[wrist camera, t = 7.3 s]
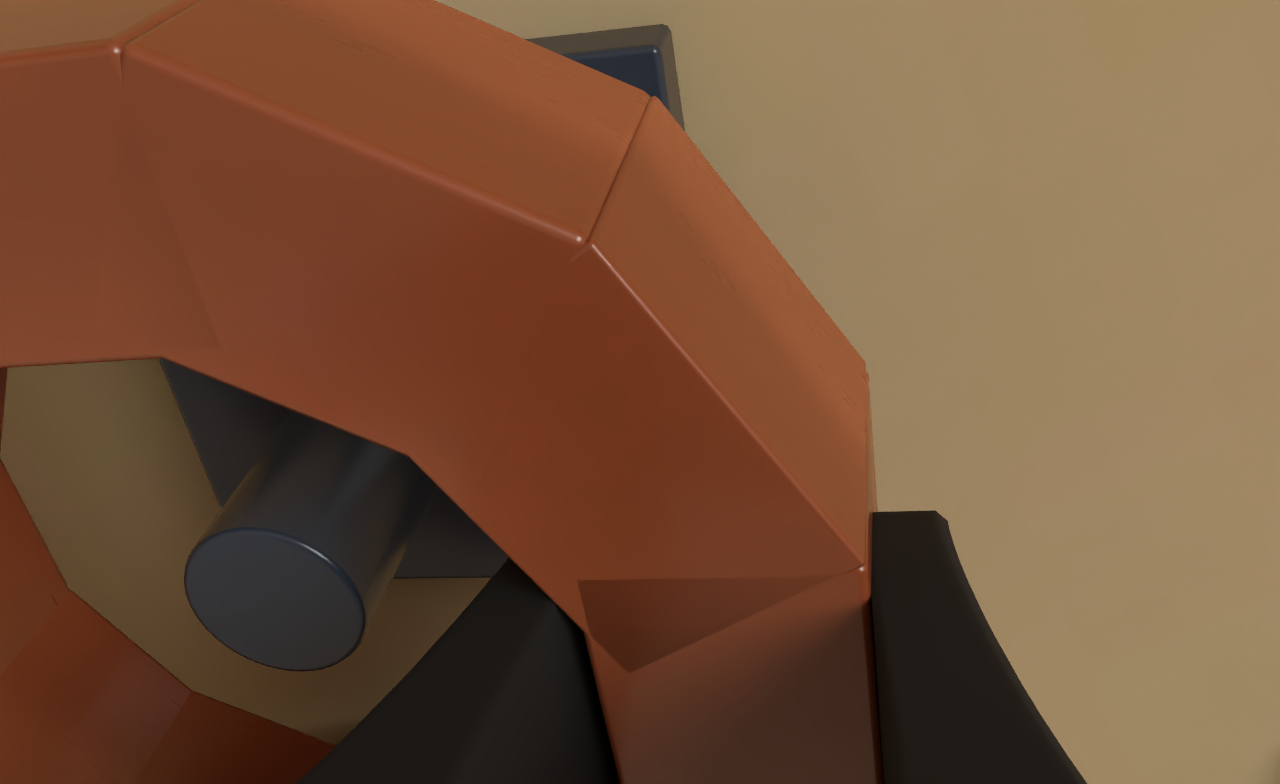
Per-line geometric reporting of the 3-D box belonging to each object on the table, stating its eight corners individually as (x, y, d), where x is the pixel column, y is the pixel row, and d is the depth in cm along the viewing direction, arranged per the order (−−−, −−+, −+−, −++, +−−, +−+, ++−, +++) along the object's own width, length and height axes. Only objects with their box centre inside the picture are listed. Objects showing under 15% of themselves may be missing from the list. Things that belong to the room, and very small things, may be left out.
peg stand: (670, 20, 15) (570, 229, 10) (741, 534, 19) (696, 864, 14) (93, 86, 16) (-243, 290, 11) (274, 544, 21) (84, 841, 16)
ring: (834, -139, 9) (821, -48, 7) (902, 878, 16) (909, 1117, 13) (-430, 39, 12) (-768, 151, 10) (69, 848, 18) (-56, 1042, 16)
